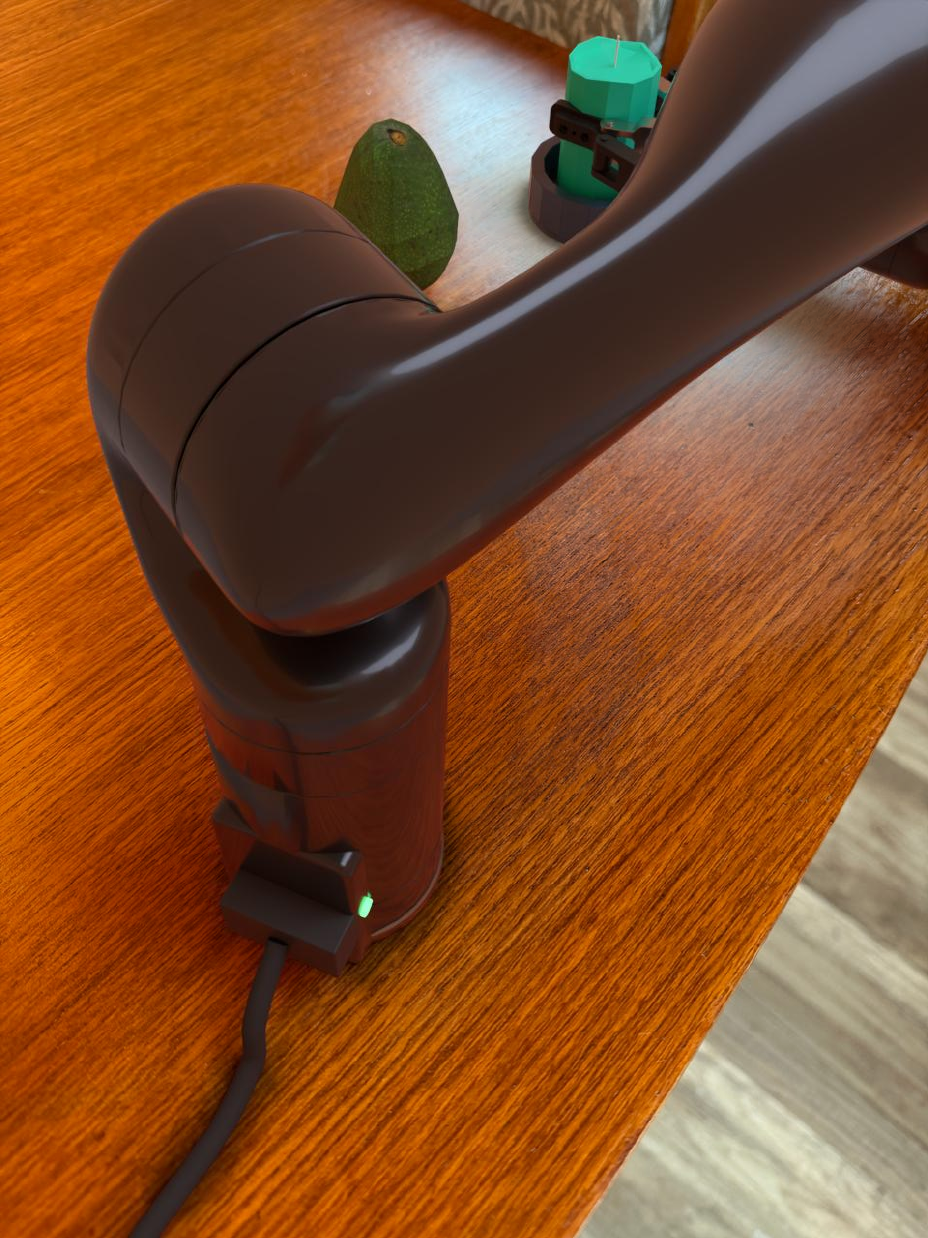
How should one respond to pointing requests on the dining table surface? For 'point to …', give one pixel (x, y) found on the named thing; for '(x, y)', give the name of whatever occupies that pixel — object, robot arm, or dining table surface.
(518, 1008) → the dining table surface
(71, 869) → the dining table surface
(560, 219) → the bowl
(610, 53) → the candle
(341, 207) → the avocado
